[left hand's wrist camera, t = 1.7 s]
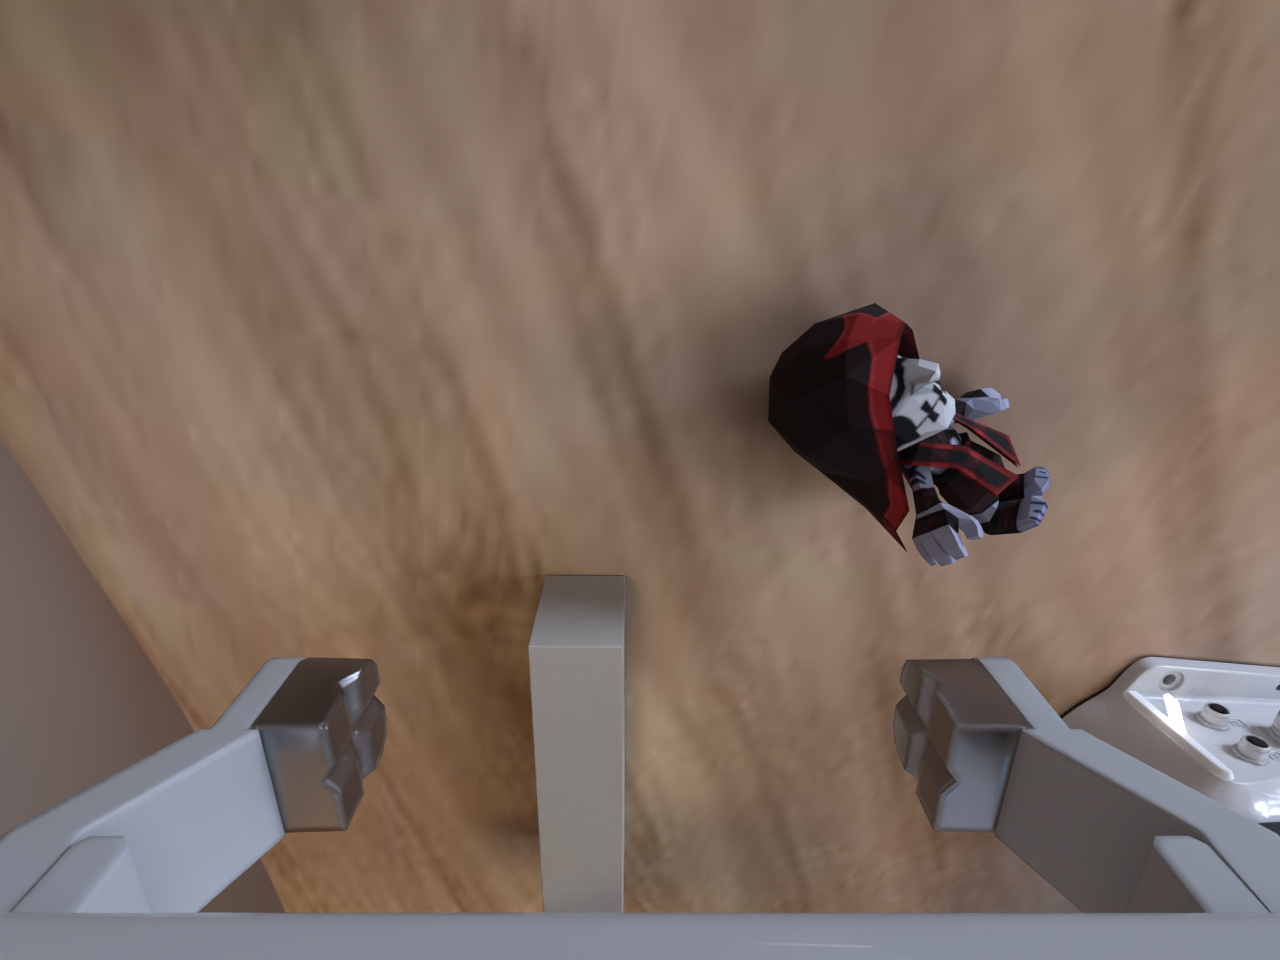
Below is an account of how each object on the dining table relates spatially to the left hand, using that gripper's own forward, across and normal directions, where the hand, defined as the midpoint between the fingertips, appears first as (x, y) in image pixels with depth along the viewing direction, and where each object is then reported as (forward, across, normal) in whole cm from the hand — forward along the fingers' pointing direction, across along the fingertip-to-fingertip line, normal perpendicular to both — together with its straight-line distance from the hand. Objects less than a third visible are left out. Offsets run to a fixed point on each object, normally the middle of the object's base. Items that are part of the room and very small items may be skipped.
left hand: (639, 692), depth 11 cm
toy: (+31, +14, -4) cm, 34 cm away
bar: (+31, -4, -27) cm, 42 cm away
